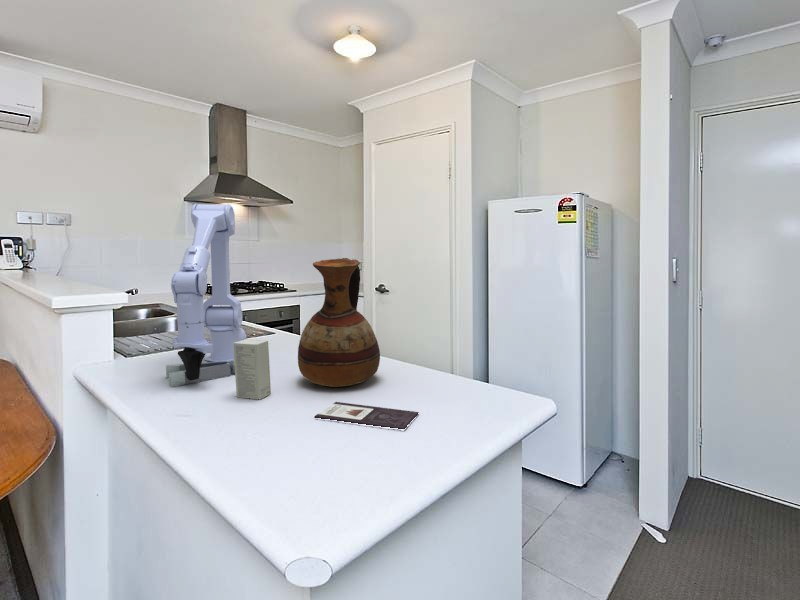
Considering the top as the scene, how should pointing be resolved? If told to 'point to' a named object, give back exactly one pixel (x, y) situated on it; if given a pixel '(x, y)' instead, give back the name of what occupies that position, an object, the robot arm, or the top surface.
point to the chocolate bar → (368, 415)
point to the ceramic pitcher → (338, 331)
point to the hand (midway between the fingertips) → (193, 379)
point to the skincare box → (252, 368)
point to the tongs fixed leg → (206, 364)
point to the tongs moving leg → (205, 374)
